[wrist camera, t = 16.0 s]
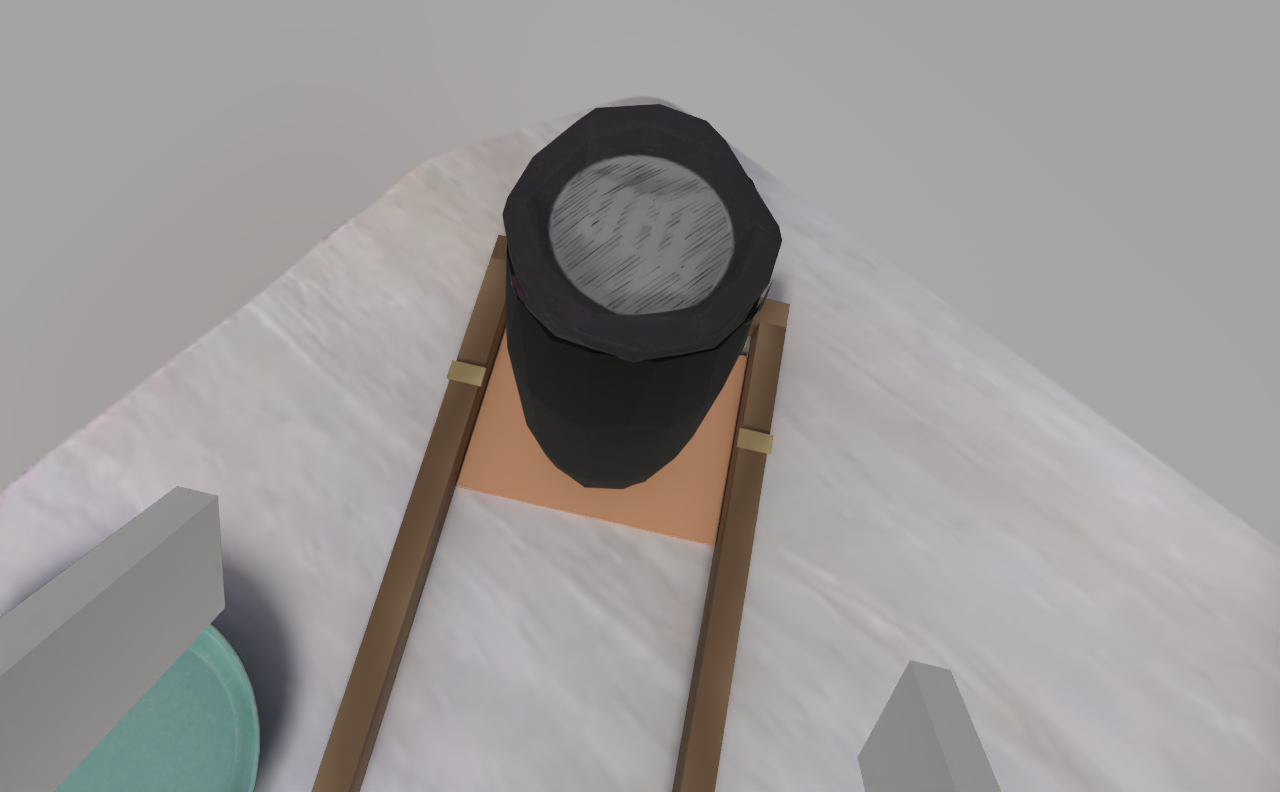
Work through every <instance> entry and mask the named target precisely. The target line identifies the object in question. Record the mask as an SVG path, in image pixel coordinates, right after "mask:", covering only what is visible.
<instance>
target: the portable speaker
mask: <svg viewBox="0 0 1280 792" xmlns="http://www.w3.org/2000/svg"><path fill="white" fill-rule="evenodd" d="M503 220H504V226H505V232H506V237H507V252H506V290H505V322H506V337H507V349H508V353H509V357H510V361H511V365H512V369H513V373H514V377H515V381H516V385H517V389H518V393H519V397H520V401H521V405H522V409H523V413H524V417H525V421H526V425H527V426H528V428H529V429H530V431H531V433H532V434H533V436H534V437H535V439H536V441H537V442H538V444H539V445H540V447H541V448H542V450H543V452H544V453H545V455H546V456H547V457H548V458H549V460H550V461H551V462H552V463H553V464H554V465H555V467H556V468H558V469H559V470H561V471H562V472H564V473H565V474H567V475H568V476H569V477H571V478H572V479H574V480H575V481H576V482H578V483H579V484H581V485H582V486H583V487H585V488H606V489H625V488H628V487H630V486H632V485H635V484H639V483H643V482H645V481H646V480H648V479H649V478H650V477H652V476H653V475H654V474H655V473H657V472H658V471H659V470H661V469H662V468H663V467H664V466H666V465H667V464H668V463H670V462H671V461H672V460H673V459H675V458H676V457H677V455H678V454H679V453H680V452H681V451H682V449H683V448H684V447H685V446H686V445H687V443H688V442H689V441H690V440H691V439H692V437H693V436H694V434H695V433H696V431H697V429H698V428H699V426H700V424H701V423H702V421H703V420H704V418H705V416H706V415H707V413H708V412H709V410H710V408H711V407H712V405H713V403H714V402H715V400H716V399H717V397H718V395H719V394H720V392H721V390H722V389H723V387H724V385H725V383H726V381H727V379H728V377H729V375H730V373H731V371H732V369H733V367H734V365H735V363H736V361H737V359H738V357H739V355H740V353H741V351H742V349H743V348H744V345H745V342H746V339H747V336H748V333H749V330H750V327H751V324H752V321H753V318H754V316H755V315H756V314H757V313H758V312H759V311H760V310H761V309H762V307H763V304H764V302H765V299H766V297H767V294H768V292H769V289H770V287H771V285H770V287H769V289H768V291H767V293H766V295H765V297H764V299H763V300H762V302H761V303H760V304H759V306H758V307H757V305H758V302H759V299H760V296H761V294H762V293H763V291H764V290H765V288H766V287H767V285H768V284H769V281H770V278H771V275H772V272H773V268H774V265H775V262H776V259H777V256H778V252H779V249H780V246H781V243H782V238H781V233H780V229H779V226H778V224H777V223H776V221H775V219H774V218H773V216H772V214H771V213H770V211H769V210H768V208H767V206H766V205H765V203H764V202H763V200H762V198H761V197H760V195H759V193H758V192H757V190H756V188H755V185H754V183H753V181H752V180H751V179H750V178H749V177H748V176H747V174H746V173H745V171H744V169H743V168H742V166H741V164H740V163H739V161H738V160H737V158H736V156H735V155H734V153H733V152H732V150H731V148H730V147H729V145H728V143H727V142H726V140H725V139H724V138H723V137H722V136H721V135H720V134H719V133H718V132H717V131H716V130H715V129H714V128H713V127H712V126H711V125H710V124H709V123H708V122H707V121H705V120H702V119H700V118H697V117H694V116H691V115H688V114H686V113H683V112H680V111H677V110H675V109H672V108H669V107H666V106H663V105H661V104H654V105H638V106H621V107H604V108H595V109H594V110H592V111H591V112H590V113H588V114H587V115H585V116H584V117H583V118H581V119H580V120H578V121H577V122H576V123H574V124H573V125H572V126H571V127H569V128H568V129H567V130H566V131H564V132H563V133H562V134H561V135H560V136H558V137H557V138H556V139H555V140H553V141H552V142H551V143H550V144H548V145H547V146H546V147H545V148H543V149H542V150H541V151H540V152H538V153H537V154H536V155H535V156H534V157H533V158H532V159H531V161H530V163H529V164H528V166H527V167H526V169H525V171H524V172H523V174H522V175H521V177H520V179H519V180H518V182H517V183H516V185H515V187H514V188H513V190H512V191H511V193H510V195H509V196H508V198H507V201H506V205H505V208H504V211H503ZM503 251H504V250H503ZM504 257H505V255H504ZM772 282H773V281H772ZM771 284H772V283H771ZM756 308H757V309H756Z"/></svg>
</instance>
